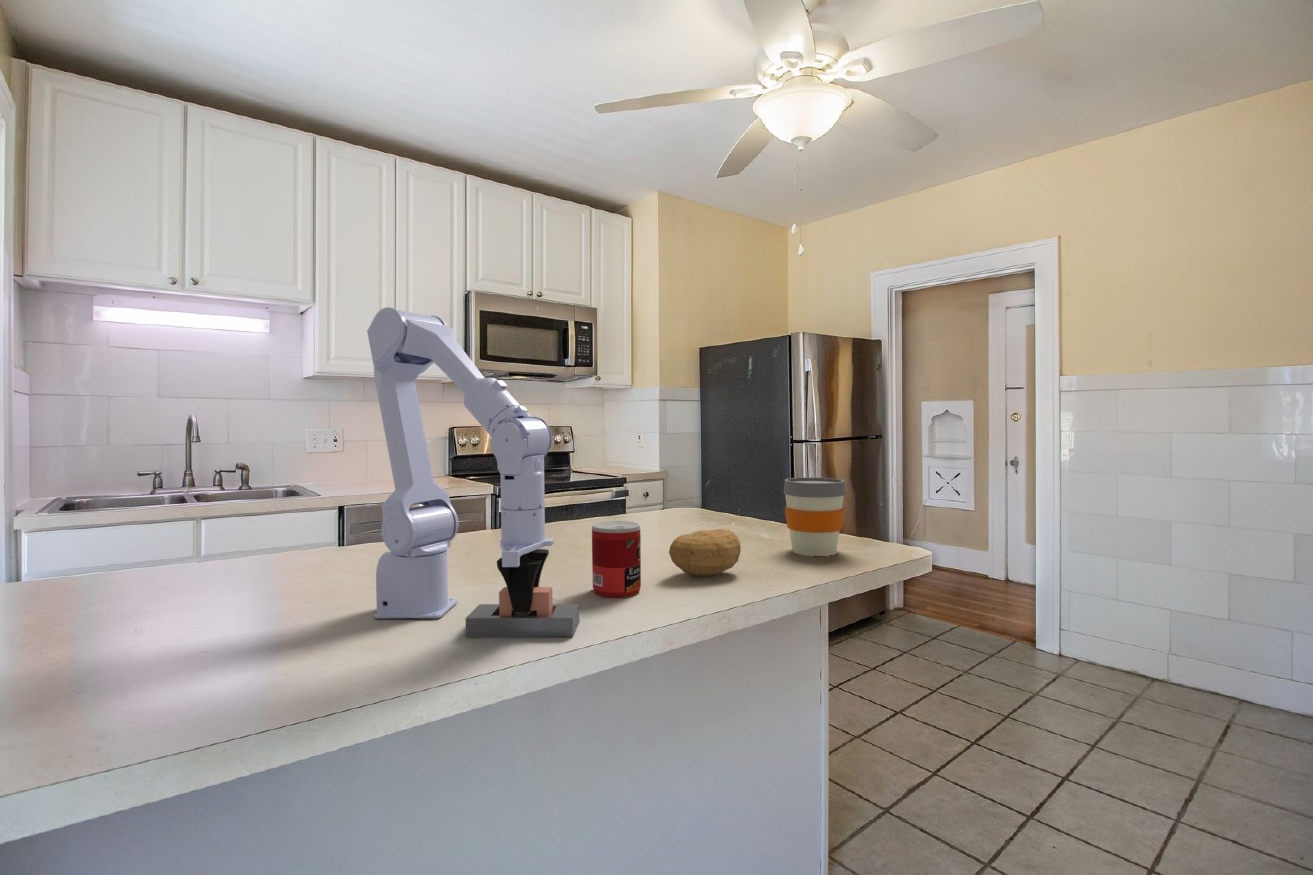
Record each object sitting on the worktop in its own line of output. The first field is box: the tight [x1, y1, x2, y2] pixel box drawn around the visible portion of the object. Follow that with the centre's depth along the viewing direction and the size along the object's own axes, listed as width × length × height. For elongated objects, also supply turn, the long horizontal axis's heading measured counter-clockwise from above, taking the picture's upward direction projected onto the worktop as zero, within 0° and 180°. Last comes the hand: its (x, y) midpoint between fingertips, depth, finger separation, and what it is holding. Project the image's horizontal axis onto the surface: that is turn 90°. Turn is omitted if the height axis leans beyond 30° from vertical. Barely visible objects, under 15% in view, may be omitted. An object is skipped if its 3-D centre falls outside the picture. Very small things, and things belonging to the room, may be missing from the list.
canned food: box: [591, 520, 642, 599], centre depth 101 cm, size 8×8×11 cm
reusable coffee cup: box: [783, 477, 846, 557], centre depth 130 cm, size 13×13×15 cm
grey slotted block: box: [465, 603, 581, 638], centre depth 84 cm, size 14×6×2 cm, turn 89°
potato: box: [668, 528, 742, 578], centre depth 111 cm, size 10×14×8 cm
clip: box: [498, 586, 553, 616], centre depth 84 cm, size 7×3×5 cm, turn 89°
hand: (524, 607), depth 84 cm, fingers closed on clip, 2 cm apart
